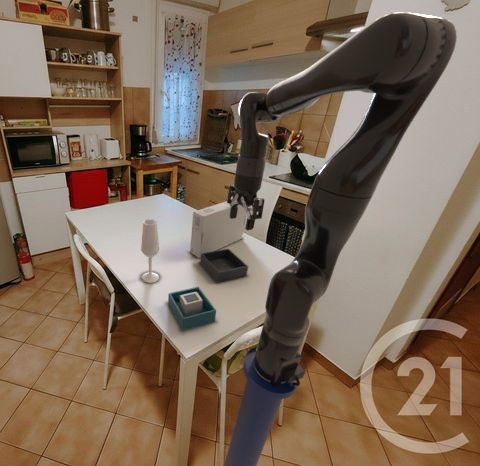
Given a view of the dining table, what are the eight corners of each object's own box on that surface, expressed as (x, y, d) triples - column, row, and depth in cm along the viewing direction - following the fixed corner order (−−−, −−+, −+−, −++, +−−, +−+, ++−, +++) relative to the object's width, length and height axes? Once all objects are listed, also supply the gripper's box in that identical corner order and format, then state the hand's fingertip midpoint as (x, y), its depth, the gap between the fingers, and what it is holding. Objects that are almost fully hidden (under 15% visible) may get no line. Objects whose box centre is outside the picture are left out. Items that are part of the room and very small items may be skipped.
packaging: (232, 233, 136) (238, 197, 127) (242, 238, 132) (249, 201, 122) (189, 252, 120) (192, 211, 110) (199, 258, 115) (203, 216, 106)
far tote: (246, 275, 104) (248, 266, 102) (217, 282, 100) (218, 272, 98) (227, 257, 116) (228, 248, 114) (200, 262, 112) (201, 253, 110)
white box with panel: (201, 313, 85) (202, 300, 83) (184, 317, 83) (185, 304, 81) (195, 304, 89) (196, 291, 86) (179, 308, 87) (179, 295, 85)
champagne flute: (159, 272, 105) (160, 218, 94) (158, 283, 99) (158, 226, 88) (143, 271, 106) (142, 217, 95) (140, 282, 100) (138, 225, 89)
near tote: (214, 321, 83) (216, 310, 81) (182, 330, 80) (183, 319, 78) (197, 296, 93) (198, 286, 91) (168, 303, 90) (168, 293, 88)
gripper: (224, 167, 79) (218, 216, 87) (254, 180, 67) (243, 235, 75) (245, 165, 81) (237, 213, 89) (277, 177, 69) (265, 232, 77)
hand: (240, 223), depth 82 cm, fingers open, 8 cm apart
